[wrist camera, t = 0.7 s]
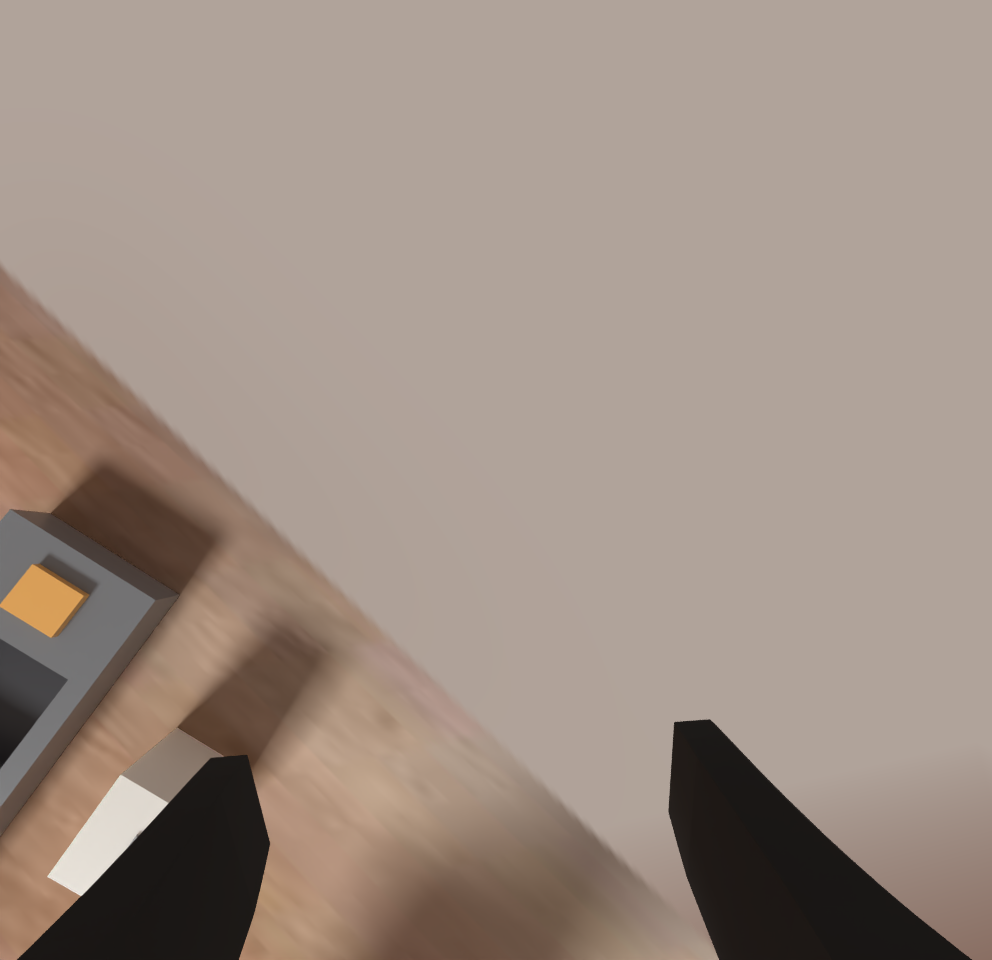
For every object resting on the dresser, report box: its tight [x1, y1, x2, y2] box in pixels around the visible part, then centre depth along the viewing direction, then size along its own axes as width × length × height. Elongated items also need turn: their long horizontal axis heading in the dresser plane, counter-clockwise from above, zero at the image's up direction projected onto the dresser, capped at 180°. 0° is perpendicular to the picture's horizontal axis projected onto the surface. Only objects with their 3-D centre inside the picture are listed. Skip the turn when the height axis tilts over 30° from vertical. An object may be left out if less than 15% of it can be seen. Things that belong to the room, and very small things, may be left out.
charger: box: [47, 728, 225, 896], centre depth 25 cm, size 4×4×6 cm
